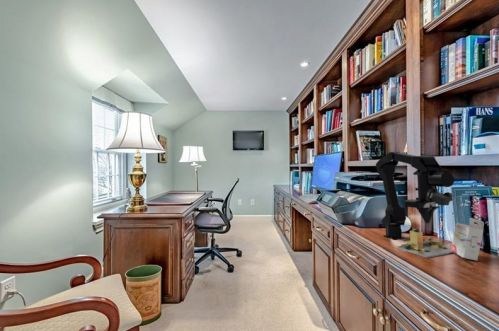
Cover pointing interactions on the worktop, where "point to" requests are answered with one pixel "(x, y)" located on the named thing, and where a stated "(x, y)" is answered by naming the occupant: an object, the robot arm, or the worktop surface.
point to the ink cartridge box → (468, 239)
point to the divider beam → (426, 243)
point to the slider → (416, 239)
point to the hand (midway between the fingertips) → (427, 223)
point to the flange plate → (429, 251)
